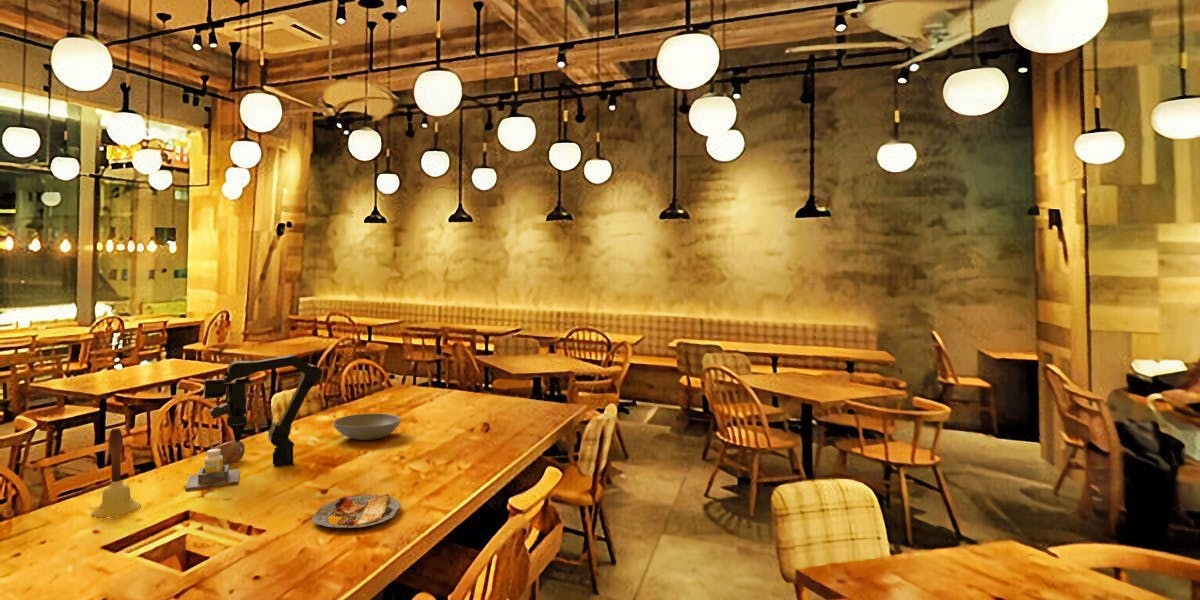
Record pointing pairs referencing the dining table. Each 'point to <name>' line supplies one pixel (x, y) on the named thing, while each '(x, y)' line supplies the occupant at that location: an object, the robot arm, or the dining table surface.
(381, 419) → the bowl
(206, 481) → the collar socket board
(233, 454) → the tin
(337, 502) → the food plate
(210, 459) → the supplement bottle
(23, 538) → the dining table surface
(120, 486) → the handbell
